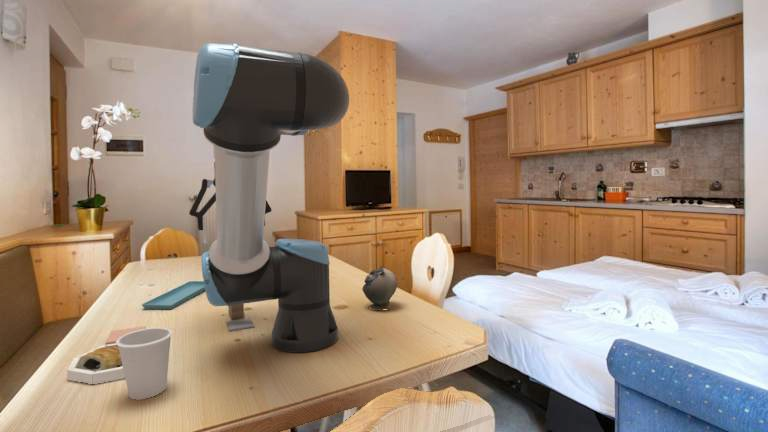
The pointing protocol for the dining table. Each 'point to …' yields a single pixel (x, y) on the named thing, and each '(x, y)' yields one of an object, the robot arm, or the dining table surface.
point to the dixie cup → (145, 361)
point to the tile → (120, 334)
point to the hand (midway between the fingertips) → (233, 240)
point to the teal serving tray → (176, 296)
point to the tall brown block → (238, 319)
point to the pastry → (101, 359)
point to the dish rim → (93, 376)
